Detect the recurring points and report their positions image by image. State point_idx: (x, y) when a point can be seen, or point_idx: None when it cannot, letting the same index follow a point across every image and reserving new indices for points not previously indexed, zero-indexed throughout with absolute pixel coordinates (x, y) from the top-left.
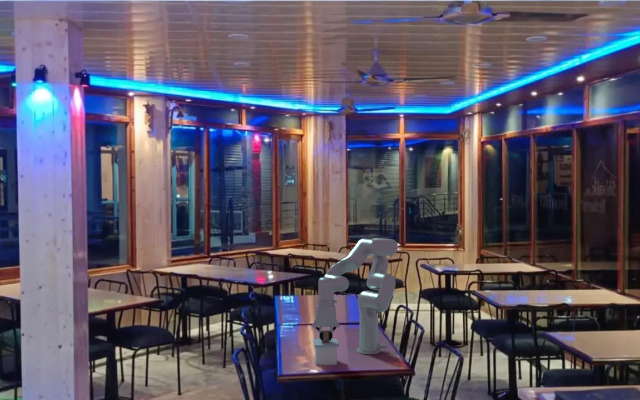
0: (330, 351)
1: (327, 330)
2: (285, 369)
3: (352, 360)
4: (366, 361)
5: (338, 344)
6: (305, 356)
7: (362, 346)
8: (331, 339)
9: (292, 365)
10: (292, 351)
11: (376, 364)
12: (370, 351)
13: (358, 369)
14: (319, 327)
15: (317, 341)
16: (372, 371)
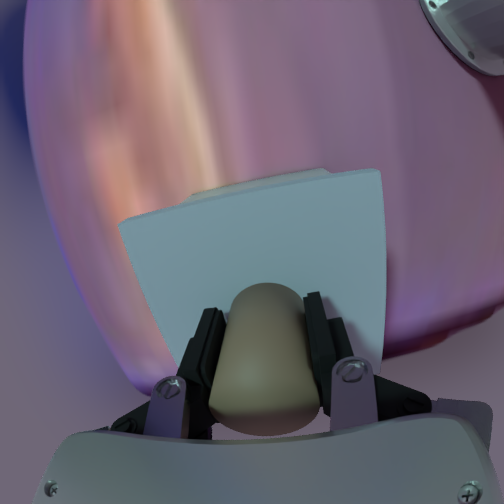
0: None
1: (286, 396)
2: (116, 348)
3: (421, 176)
4: (476, 193)
5: (378, 365)
6: (126, 130)
7: (473, 31)
8: (323, 207)
9: (116, 301)
10: (58, 67)
11: (498, 238)
12: (492, 59)
13: (424, 319)
14: (155, 431)
15: (180, 306)
16: (461, 329)
